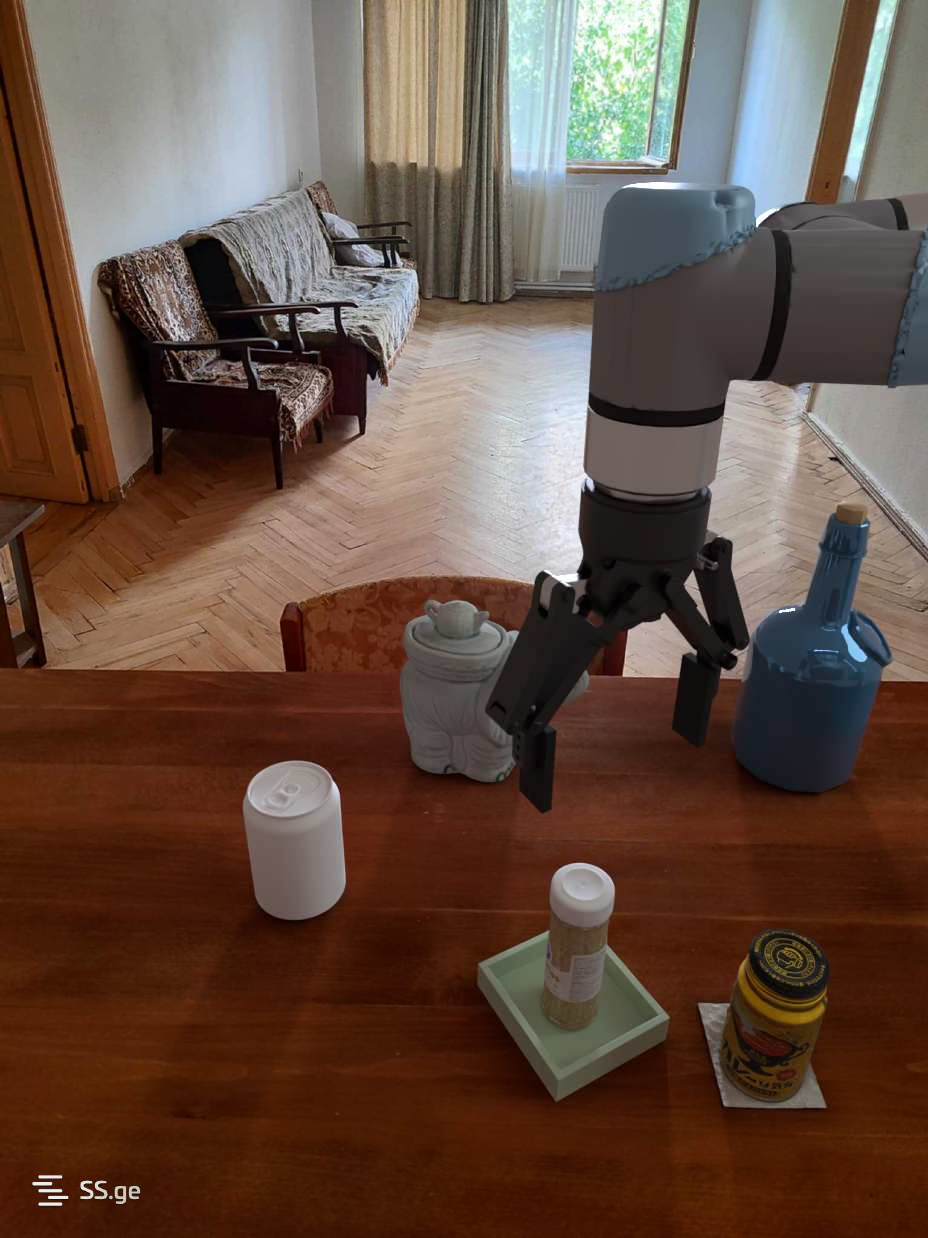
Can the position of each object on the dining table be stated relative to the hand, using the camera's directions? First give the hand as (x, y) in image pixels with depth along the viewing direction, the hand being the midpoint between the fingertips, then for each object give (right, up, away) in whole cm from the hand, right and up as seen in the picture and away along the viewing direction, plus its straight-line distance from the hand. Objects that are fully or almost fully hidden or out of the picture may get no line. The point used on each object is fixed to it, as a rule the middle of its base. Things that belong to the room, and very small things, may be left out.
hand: (615, 767), depth 62 cm
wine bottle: (+26, -5, +36) cm, 44 cm away
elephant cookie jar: (-8, -5, +35) cm, 36 cm away
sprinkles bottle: (-2, -20, +7) cm, 22 cm away
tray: (-2, -21, +8) cm, 22 cm away
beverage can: (-25, -14, +18) cm, 34 cm away
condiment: (+12, -23, +5) cm, 26 cm away
